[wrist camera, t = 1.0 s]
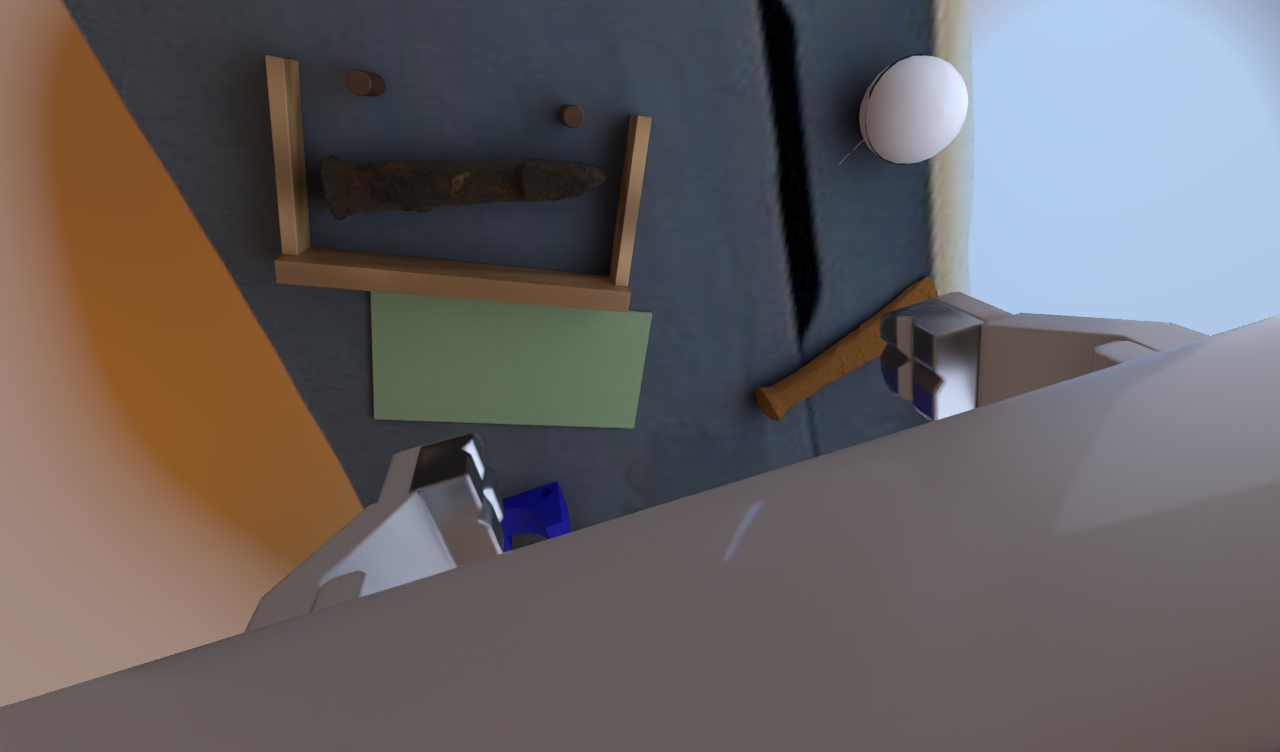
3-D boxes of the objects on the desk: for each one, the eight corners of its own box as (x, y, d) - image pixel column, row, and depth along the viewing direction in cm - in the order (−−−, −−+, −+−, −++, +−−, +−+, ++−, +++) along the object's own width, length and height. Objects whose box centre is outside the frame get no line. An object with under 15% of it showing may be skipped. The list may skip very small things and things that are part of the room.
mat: (371, 288, 46) (370, 290, 45) (651, 312, 51) (652, 313, 50) (375, 417, 50) (374, 419, 49) (633, 426, 55) (633, 428, 55)
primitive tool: (927, 273, 54) (953, 283, 51) (943, 320, 57) (969, 333, 54) (745, 385, 56) (759, 402, 52) (769, 427, 58) (784, 445, 55)
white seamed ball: (917, 40, 46) (985, 30, 39) (932, 136, 49) (998, 142, 43) (799, 96, 46) (847, 95, 39) (822, 188, 49) (870, 202, 43)
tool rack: (281, 57, 39) (255, 53, 35) (643, 116, 44) (656, 118, 40) (297, 266, 44) (276, 283, 40) (618, 295, 50) (628, 312, 46)
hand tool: (339, 213, 43) (321, 225, 39) (328, 153, 41) (309, 160, 37) (602, 211, 47) (611, 222, 42) (602, 156, 45) (611, 162, 41)
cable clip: (450, 558, 57) (444, 606, 52) (431, 523, 55) (423, 568, 50) (571, 517, 58) (578, 560, 52) (557, 481, 56) (562, 521, 50)
